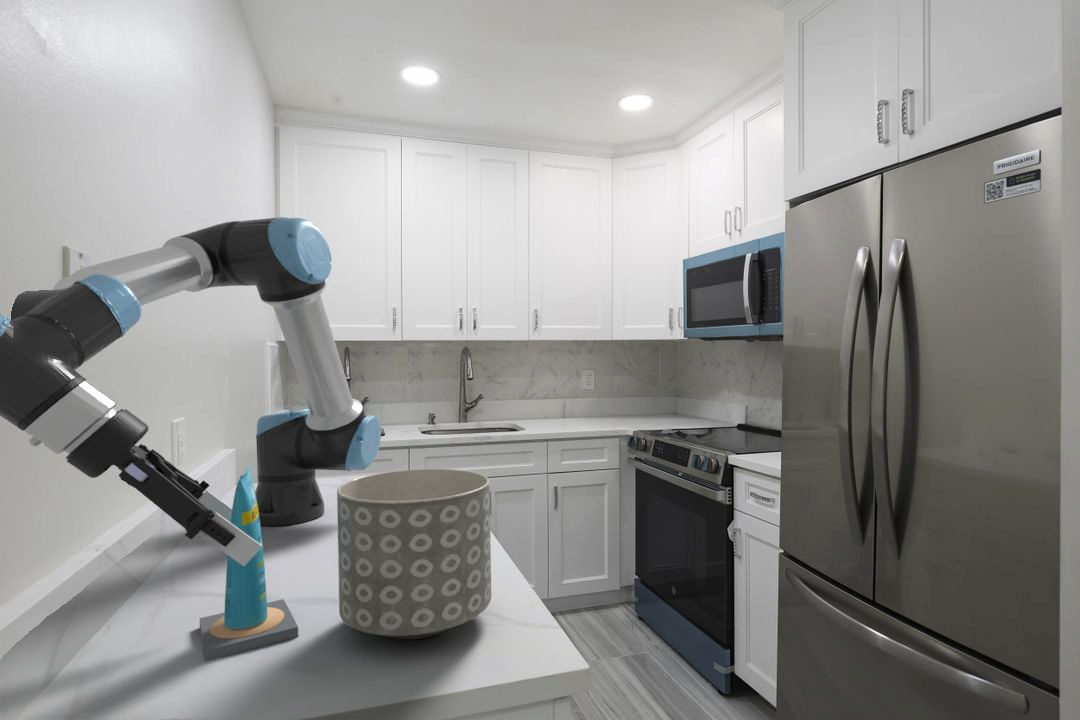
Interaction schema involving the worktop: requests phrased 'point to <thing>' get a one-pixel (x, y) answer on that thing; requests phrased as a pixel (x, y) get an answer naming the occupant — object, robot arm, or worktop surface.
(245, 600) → the tube
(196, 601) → the worktop surface
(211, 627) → the coaster
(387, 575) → the planter
